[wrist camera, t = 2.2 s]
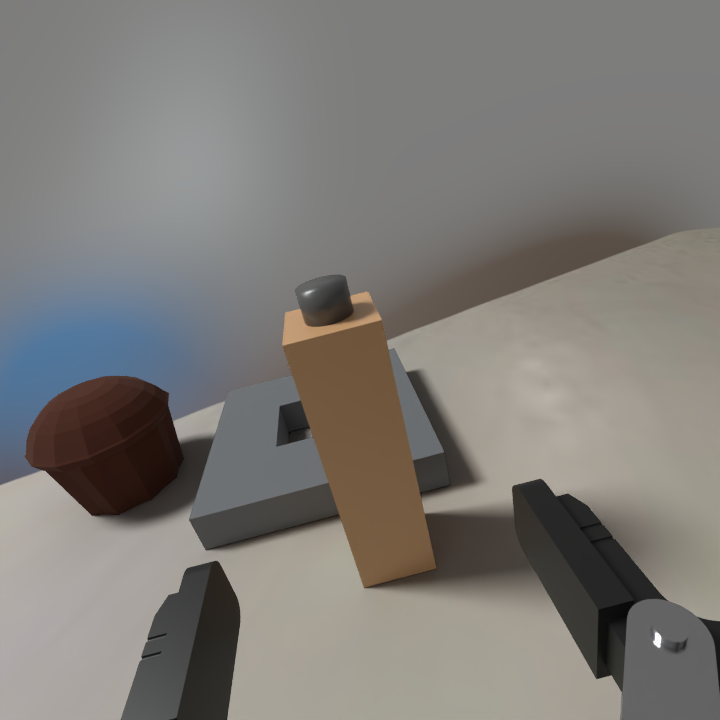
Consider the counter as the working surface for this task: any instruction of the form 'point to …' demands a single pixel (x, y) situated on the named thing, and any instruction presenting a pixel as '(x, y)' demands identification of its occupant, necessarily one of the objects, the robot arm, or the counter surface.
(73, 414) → the muffin
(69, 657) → the counter surface
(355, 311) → the plug
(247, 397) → the socket
